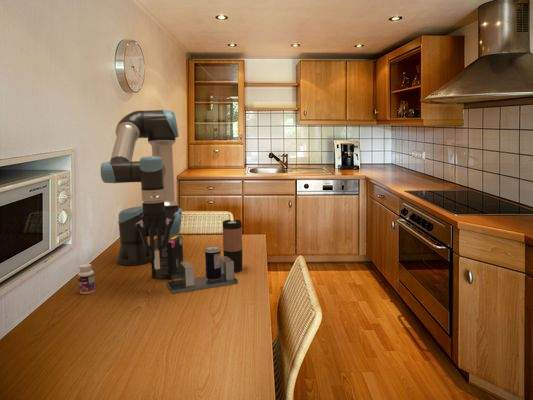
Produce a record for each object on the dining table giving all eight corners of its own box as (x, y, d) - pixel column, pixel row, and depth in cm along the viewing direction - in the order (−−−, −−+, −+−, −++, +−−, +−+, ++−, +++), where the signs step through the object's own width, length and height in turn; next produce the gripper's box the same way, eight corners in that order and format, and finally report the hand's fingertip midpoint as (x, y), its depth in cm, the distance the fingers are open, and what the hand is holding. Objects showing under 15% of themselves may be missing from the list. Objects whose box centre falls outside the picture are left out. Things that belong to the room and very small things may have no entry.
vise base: (167, 285, 171) (165, 263, 170) (228, 275, 180) (228, 255, 179) (172, 293, 162) (171, 271, 160) (237, 283, 171) (237, 261, 170)
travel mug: (231, 274, 182) (230, 224, 179) (220, 270, 187) (218, 221, 184) (246, 270, 187) (245, 221, 184) (235, 266, 192) (233, 218, 189)
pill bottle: (75, 293, 164) (73, 266, 163) (86, 288, 169) (84, 262, 167) (88, 295, 162) (85, 268, 161) (98, 290, 167) (96, 263, 166)
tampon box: (174, 279, 177) (172, 242, 174) (151, 278, 179) (149, 241, 176) (184, 270, 187) (182, 235, 185) (163, 270, 189) (161, 234, 187)
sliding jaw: (170, 282, 170) (169, 263, 169) (188, 279, 173) (188, 261, 172) (174, 288, 163) (173, 269, 162) (194, 285, 166) (193, 266, 164)
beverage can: (218, 275, 176) (217, 245, 174) (223, 280, 171) (222, 248, 169) (204, 277, 174) (203, 246, 172) (208, 282, 169) (207, 250, 167)
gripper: (135, 204, 154) (139, 273, 157) (174, 201, 159) (178, 268, 162) (132, 201, 160) (136, 267, 164) (170, 198, 166) (173, 263, 169)
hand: (157, 268), depth 163 cm, fingers closed
